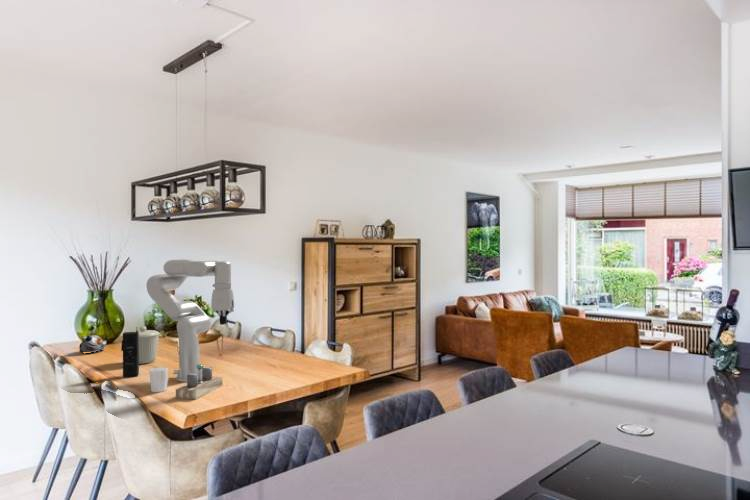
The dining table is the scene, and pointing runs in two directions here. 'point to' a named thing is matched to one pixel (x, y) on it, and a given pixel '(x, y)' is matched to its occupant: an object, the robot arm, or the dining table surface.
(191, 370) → the robot arm
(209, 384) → the mount panel
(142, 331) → the canister
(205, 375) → the knob
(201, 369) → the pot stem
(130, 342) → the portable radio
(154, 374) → the white cup
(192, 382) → the knob
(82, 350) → the lucky cat figurine
